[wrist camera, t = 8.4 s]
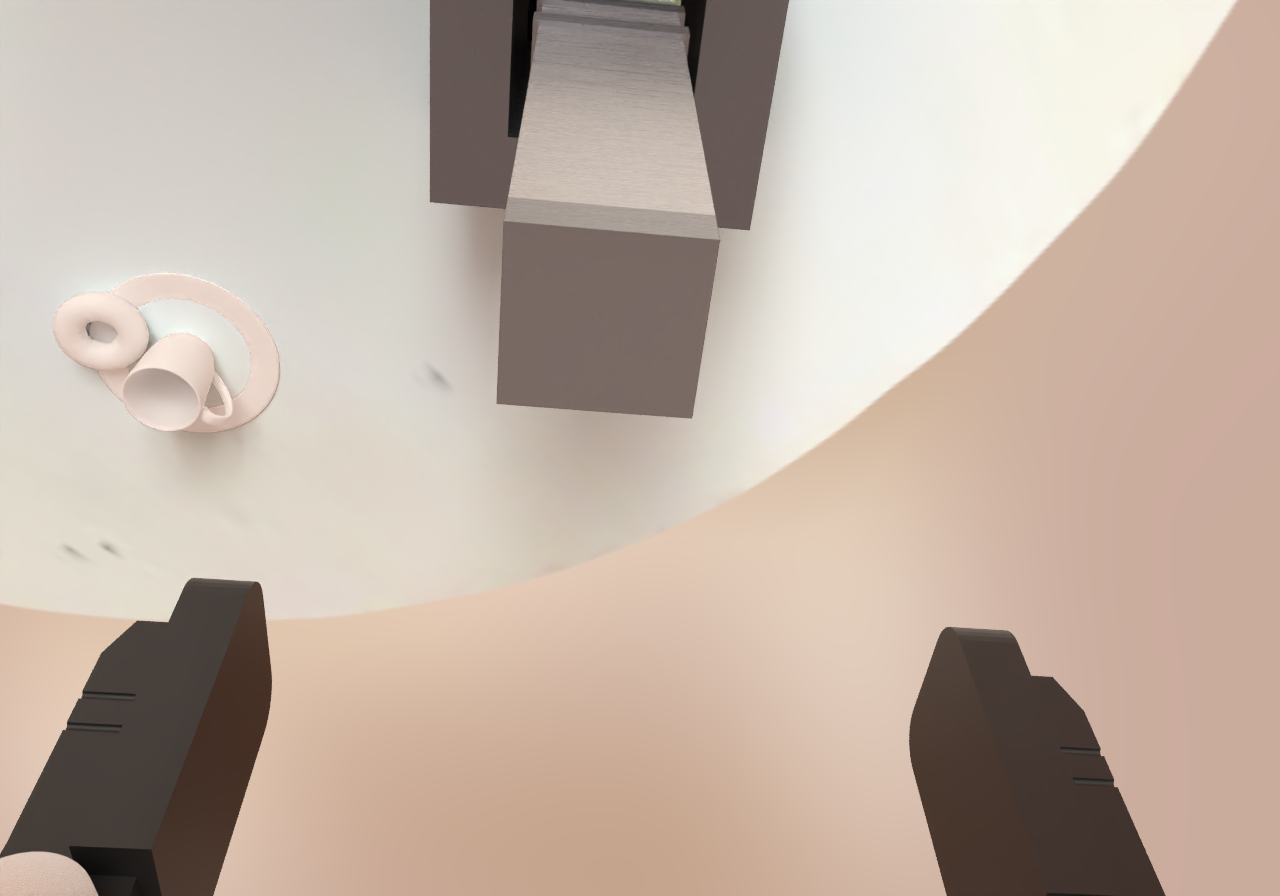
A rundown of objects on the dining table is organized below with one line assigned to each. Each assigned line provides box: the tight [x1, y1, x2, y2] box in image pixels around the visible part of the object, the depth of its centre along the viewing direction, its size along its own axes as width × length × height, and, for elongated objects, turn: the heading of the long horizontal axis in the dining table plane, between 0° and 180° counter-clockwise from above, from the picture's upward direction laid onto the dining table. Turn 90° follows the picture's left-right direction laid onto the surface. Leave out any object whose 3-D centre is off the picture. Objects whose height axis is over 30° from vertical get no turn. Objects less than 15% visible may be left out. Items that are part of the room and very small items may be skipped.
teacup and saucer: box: [53, 273, 279, 433], centre depth 49 cm, size 9×8×4 cm
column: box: [497, 0, 720, 418], centre depth 28 cm, size 4×4×19 cm
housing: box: [430, 0, 789, 230], centre depth 37 cm, size 12×12×11 cm
